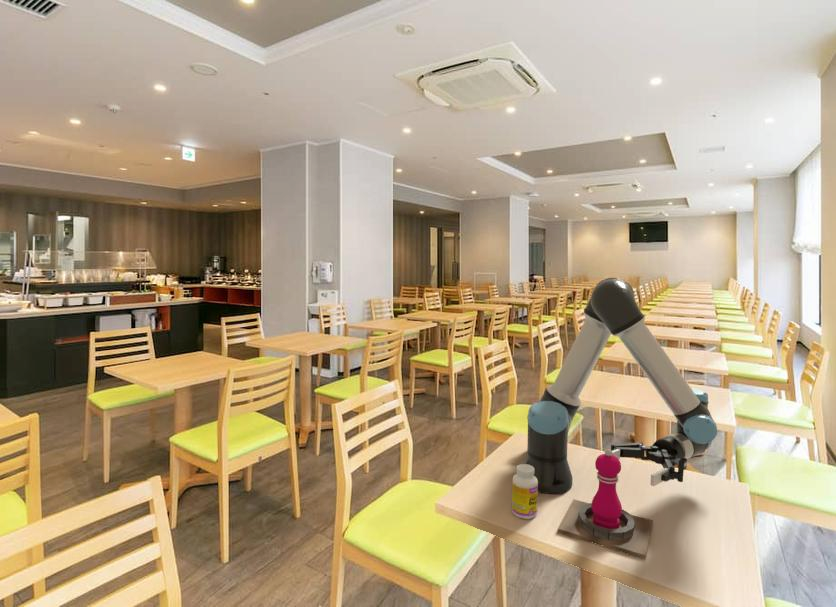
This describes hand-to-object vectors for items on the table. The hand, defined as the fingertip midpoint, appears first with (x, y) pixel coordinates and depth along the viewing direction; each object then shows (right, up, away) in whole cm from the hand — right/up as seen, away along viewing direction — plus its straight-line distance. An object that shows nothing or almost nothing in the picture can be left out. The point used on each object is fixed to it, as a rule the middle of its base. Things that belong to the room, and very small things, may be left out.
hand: (626, 469), depth 122 cm
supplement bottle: (-26, -14, +5) cm, 29 cm away
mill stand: (-6, -14, -2) cm, 16 cm away
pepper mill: (-6, -13, -2) cm, 15 cm away
